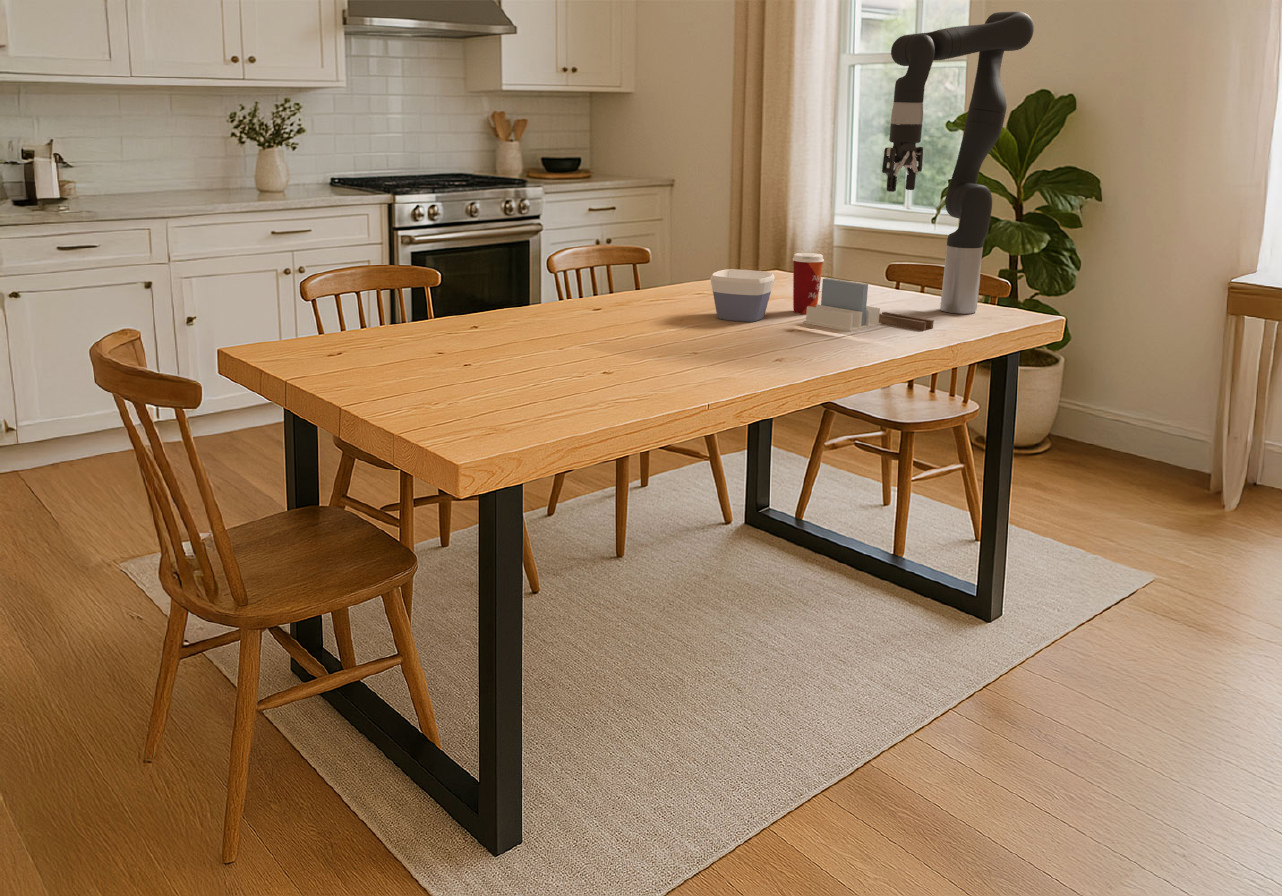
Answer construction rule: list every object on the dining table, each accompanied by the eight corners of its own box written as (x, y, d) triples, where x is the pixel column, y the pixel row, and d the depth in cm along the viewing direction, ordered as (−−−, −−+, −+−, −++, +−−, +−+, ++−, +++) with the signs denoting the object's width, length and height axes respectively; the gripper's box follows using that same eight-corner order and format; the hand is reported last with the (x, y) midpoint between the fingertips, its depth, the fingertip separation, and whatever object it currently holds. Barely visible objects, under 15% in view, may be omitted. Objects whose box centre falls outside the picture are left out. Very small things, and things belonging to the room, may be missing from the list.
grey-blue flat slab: (824, 317, 272) (827, 277, 269) (864, 325, 264) (868, 284, 261) (819, 318, 271) (822, 278, 268) (860, 326, 263) (863, 284, 260)
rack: (833, 319, 277) (835, 300, 275) (880, 327, 268) (882, 308, 266) (803, 325, 268) (804, 306, 267) (850, 334, 259) (852, 314, 257)
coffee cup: (819, 315, 281) (823, 257, 277) (787, 313, 283) (791, 256, 278) (821, 309, 289) (825, 253, 284) (790, 308, 291) (793, 251, 286)
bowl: (702, 320, 273) (704, 275, 270) (721, 310, 287) (723, 267, 283) (761, 325, 268) (763, 280, 264) (778, 315, 281) (780, 272, 278)
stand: (883, 322, 274) (884, 311, 273) (933, 331, 264) (934, 320, 263) (872, 325, 270) (873, 314, 269) (922, 334, 261) (923, 322, 260)
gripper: (908, 122, 271) (902, 188, 276) (877, 122, 262) (871, 191, 267) (935, 122, 266) (929, 190, 271) (904, 122, 257) (897, 193, 262)
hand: (900, 190), depth 269 cm, fingers open, 8 cm apart
